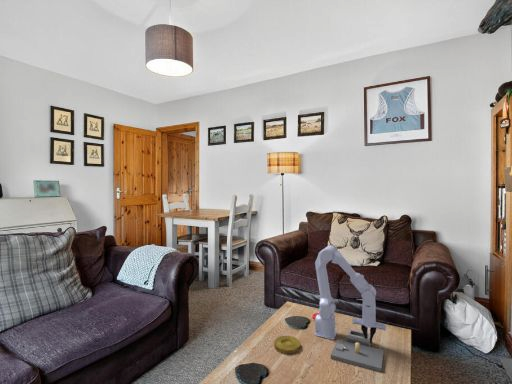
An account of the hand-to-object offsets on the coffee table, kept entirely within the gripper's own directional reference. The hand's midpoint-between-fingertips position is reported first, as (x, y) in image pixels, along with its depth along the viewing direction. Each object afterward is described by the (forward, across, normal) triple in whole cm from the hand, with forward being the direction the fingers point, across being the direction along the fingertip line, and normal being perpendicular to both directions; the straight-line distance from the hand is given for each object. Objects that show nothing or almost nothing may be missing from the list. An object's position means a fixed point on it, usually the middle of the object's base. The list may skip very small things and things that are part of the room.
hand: (368, 341), depth 133 cm
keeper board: (+1, -3, -12) cm, 12 cm away
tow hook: (+2, -27, +16) cm, 32 cm away
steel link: (+1, -4, 0) cm, 5 cm away
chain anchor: (0, -10, -11) cm, 15 cm away
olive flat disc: (+2, -33, -18) cm, 38 cm away
